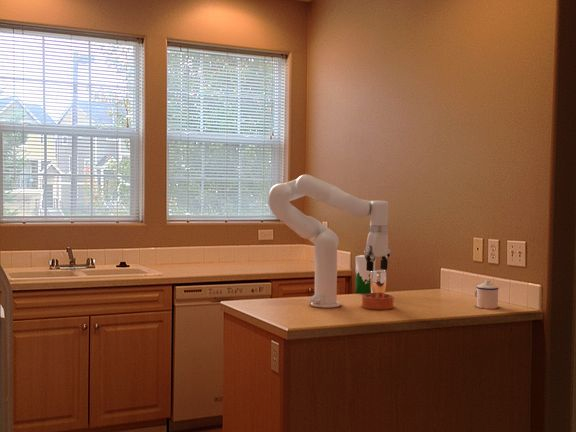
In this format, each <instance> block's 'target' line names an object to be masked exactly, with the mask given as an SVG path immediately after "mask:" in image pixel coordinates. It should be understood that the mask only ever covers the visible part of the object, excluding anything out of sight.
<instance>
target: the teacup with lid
mask: <svg viewBox="0 0 576 432" xmlns="http://www.w3.org/2000/svg"><path fill="white" fill-rule="evenodd" d="M473 293H474V297H475V299H476V307H477V308H479V309H484V310H495V309H497V308H498V306H499V286H498V285H496V284H494V283H492V282H491V280H490V279H485V280H484V282H482V283H480V284H477V285H476V289H475V290H474V291H473Z"/></svg>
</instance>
